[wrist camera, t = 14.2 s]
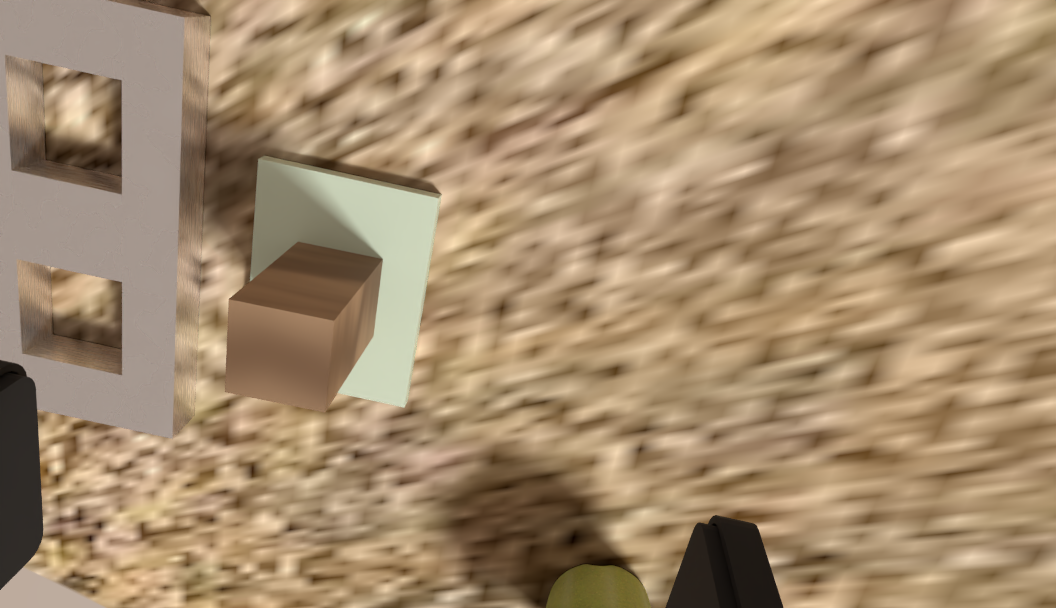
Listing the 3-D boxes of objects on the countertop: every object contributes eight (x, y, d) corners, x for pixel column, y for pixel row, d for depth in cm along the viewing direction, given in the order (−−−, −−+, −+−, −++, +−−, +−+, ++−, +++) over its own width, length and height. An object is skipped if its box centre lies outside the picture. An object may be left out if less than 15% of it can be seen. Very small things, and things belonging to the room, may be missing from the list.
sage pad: (264, 155, 38) (258, 158, 37) (441, 194, 38) (438, 198, 37) (249, 365, 42) (243, 372, 42) (407, 400, 42) (404, 407, 42)
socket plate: (-21, -35, 35) (-63, -38, 33) (210, 16, 36) (184, 17, 33) (7, 374, 44) (-26, 395, 41) (194, 415, 44) (172, 438, 42)
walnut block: (297, 241, 39) (228, 299, 31) (383, 259, 39) (334, 320, 31) (291, 319, 40) (225, 391, 33) (373, 336, 40) (325, 412, 33)
